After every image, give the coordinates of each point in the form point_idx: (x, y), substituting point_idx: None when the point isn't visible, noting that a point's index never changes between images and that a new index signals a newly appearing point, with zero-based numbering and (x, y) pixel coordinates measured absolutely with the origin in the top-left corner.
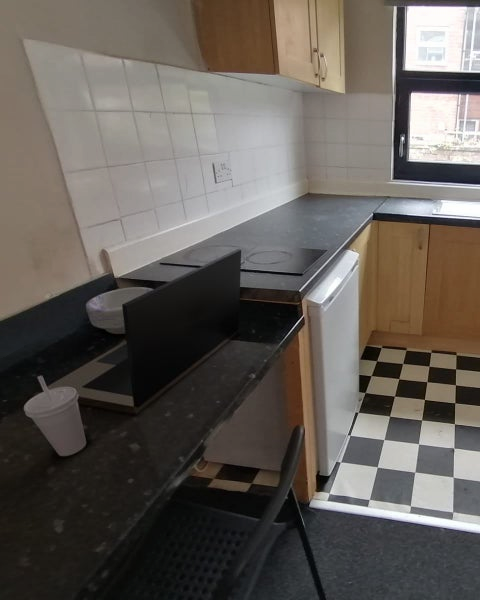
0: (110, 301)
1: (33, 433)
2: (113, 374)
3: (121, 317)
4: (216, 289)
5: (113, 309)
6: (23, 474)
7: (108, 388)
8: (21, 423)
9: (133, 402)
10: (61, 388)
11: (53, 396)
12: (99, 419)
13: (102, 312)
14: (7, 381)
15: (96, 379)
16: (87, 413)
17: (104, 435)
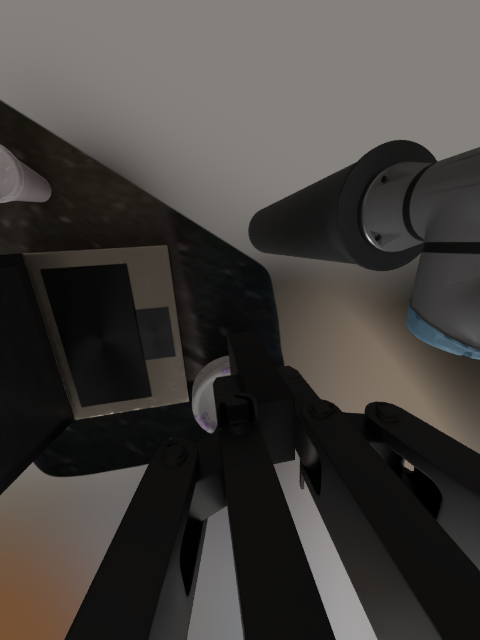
0: None
1: (108, 194)
2: (117, 293)
3: (204, 374)
4: None
5: (211, 378)
6: (39, 140)
7: (91, 270)
8: (141, 203)
9: (16, 254)
10: (5, 194)
11: None
12: (62, 234)
13: (221, 368)
14: (243, 253)
15: (125, 279)
16: (88, 238)
17: (25, 214)
